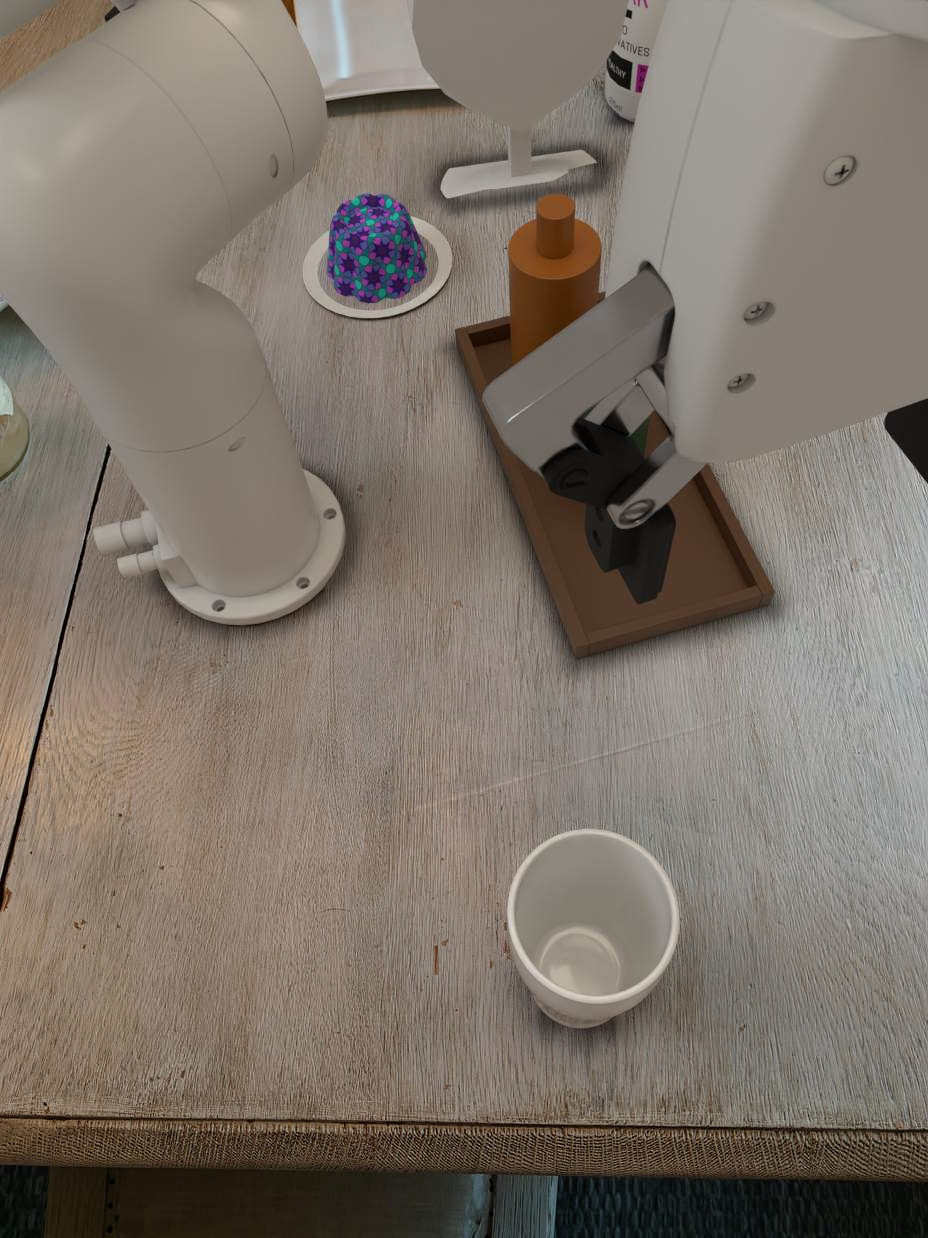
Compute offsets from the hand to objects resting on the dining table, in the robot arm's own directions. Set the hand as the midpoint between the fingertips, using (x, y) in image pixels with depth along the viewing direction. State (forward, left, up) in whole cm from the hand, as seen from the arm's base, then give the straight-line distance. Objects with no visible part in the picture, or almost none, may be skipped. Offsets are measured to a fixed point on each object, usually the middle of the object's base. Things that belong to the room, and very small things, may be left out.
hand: (775, 508), depth 28 cm
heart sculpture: (+9, +55, -29) cm, 63 cm away
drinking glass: (-7, -7, -29) cm, 31 cm away
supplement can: (+23, +61, -29) cm, 71 cm away
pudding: (-5, +48, -29) cm, 56 cm away
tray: (+5, +24, -29) cm, 38 cm away
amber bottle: (+5, +34, -29) cm, 45 cm away
